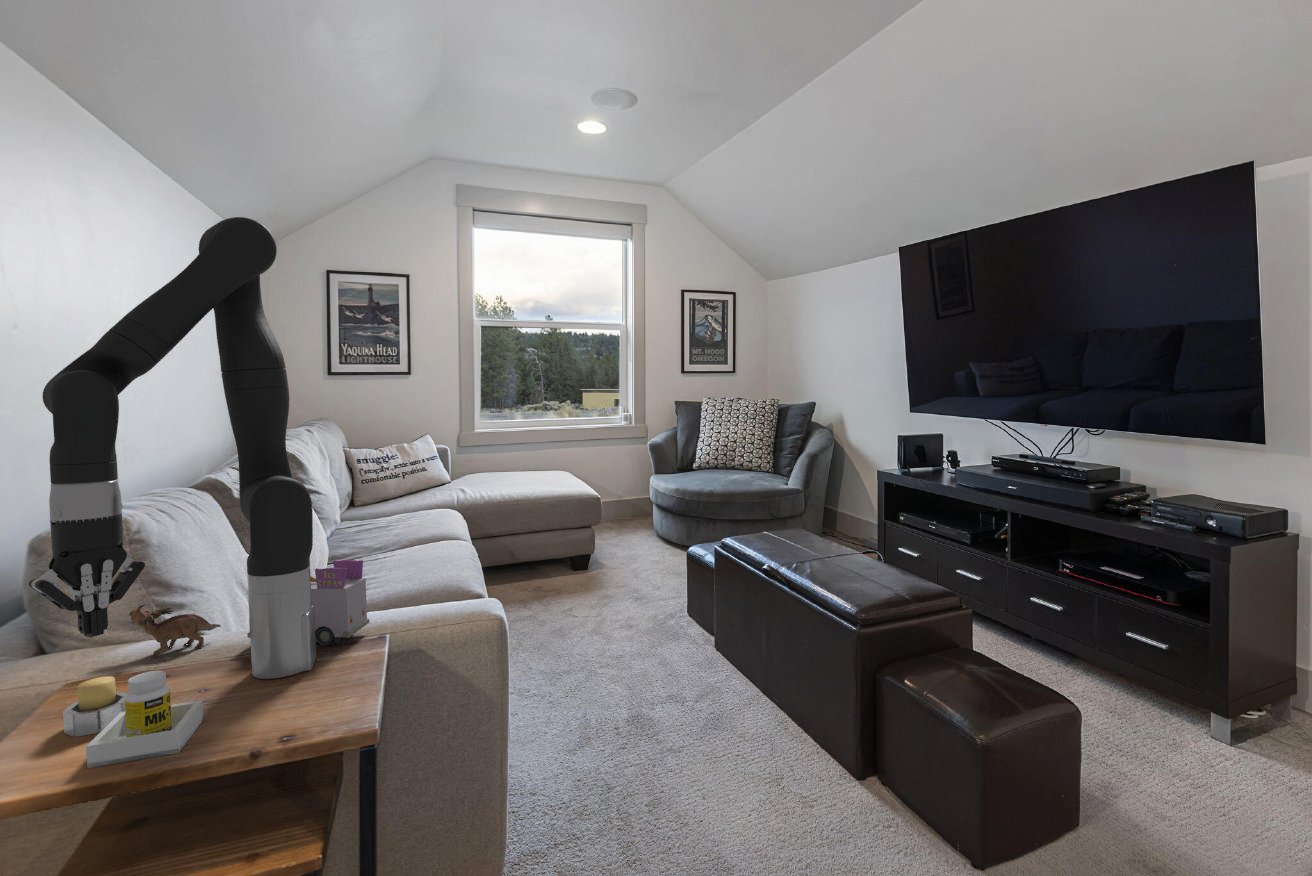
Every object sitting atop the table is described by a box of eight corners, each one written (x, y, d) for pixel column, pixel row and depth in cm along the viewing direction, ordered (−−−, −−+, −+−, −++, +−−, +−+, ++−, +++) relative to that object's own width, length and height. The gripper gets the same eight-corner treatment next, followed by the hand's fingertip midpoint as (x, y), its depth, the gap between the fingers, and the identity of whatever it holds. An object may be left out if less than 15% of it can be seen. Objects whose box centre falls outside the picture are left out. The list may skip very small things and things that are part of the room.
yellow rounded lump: (121, 694, 93) (120, 674, 93) (108, 706, 89) (107, 685, 89) (87, 699, 92) (86, 679, 91) (72, 711, 88) (71, 690, 88)
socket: (138, 708, 95) (136, 689, 95) (117, 730, 89) (116, 709, 88) (81, 717, 93) (80, 697, 92) (55, 739, 86) (54, 718, 86)
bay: (203, 719, 91) (202, 700, 91) (179, 752, 82) (178, 731, 82) (121, 731, 88) (120, 712, 88) (87, 768, 79) (86, 746, 79)
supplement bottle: (146, 748, 82) (143, 685, 82) (117, 745, 83) (113, 682, 83) (181, 730, 87) (177, 670, 87) (153, 727, 88) (149, 668, 88)
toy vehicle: (276, 631, 128) (272, 558, 127) (371, 631, 127) (368, 557, 126) (245, 649, 119) (241, 569, 118) (347, 648, 118) (344, 568, 117)
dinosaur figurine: (129, 664, 112) (126, 612, 112) (131, 654, 117) (128, 604, 117) (222, 645, 121) (220, 597, 120) (221, 636, 125) (218, 590, 125)
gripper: (127, 505, 96) (132, 617, 97) (10, 519, 84) (18, 647, 85) (155, 508, 93) (161, 624, 94) (39, 523, 81) (47, 656, 82)
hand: (93, 635), depth 90 cm, fingers closed
